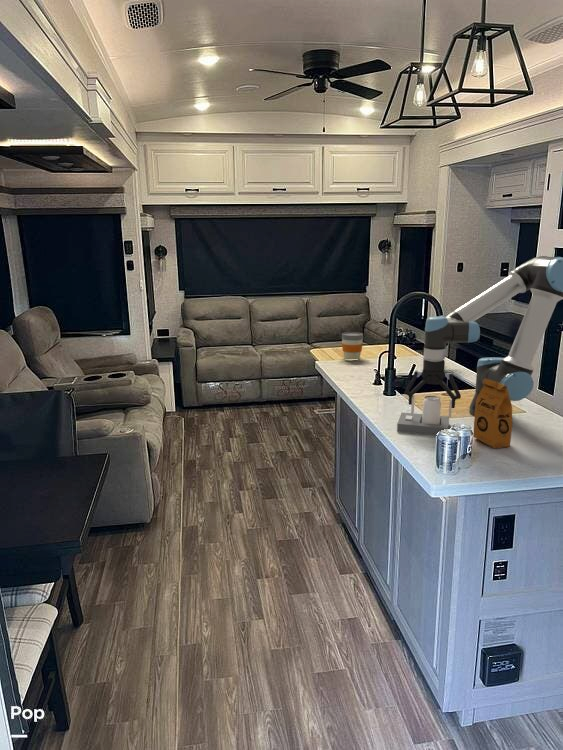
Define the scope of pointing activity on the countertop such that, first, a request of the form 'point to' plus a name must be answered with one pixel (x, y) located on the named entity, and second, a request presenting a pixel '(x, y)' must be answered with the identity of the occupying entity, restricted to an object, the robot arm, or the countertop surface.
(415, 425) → the socket plate
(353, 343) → the reusable coffee cup
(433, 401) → the can
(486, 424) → the coffee package
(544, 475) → the countertop surface
